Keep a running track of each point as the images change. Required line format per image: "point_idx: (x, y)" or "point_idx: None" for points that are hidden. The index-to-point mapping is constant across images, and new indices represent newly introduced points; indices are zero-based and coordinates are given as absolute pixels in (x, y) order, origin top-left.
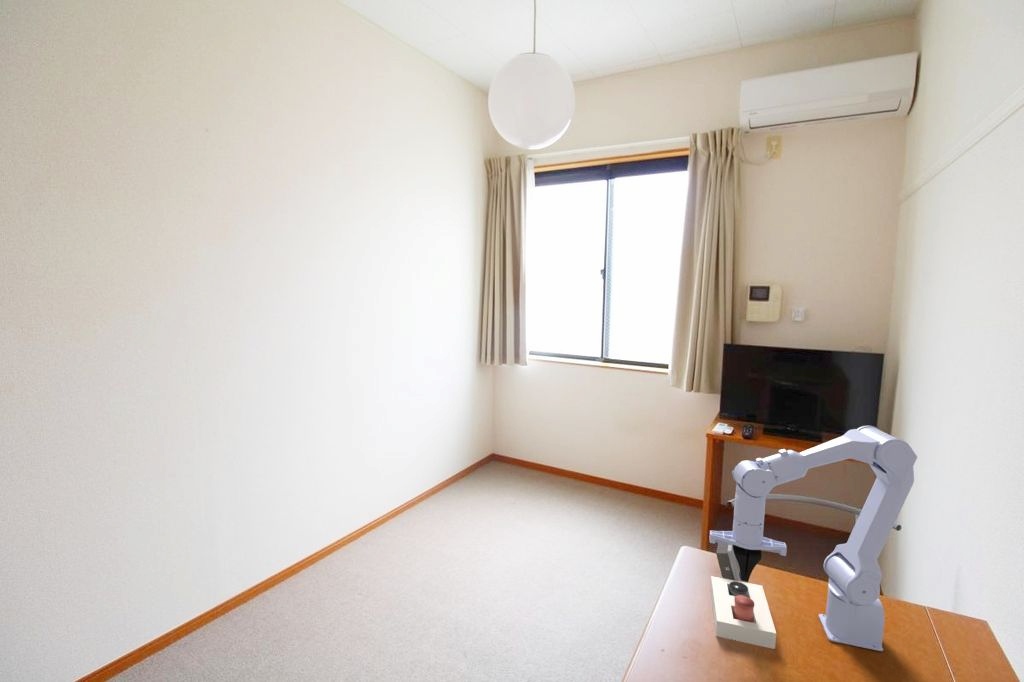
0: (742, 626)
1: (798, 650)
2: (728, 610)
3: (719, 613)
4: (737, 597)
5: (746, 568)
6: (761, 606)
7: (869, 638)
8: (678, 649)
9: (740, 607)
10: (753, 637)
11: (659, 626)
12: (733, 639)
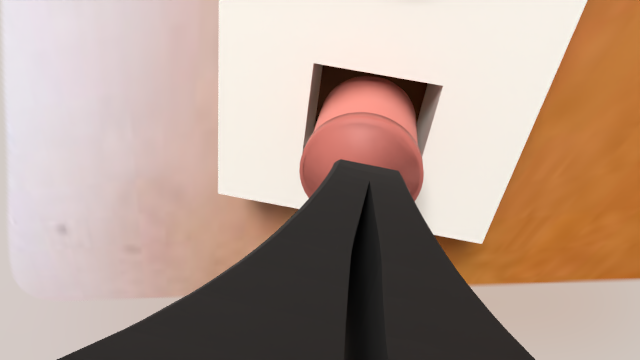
0: None
1: (577, 190)
2: (288, 111)
3: (235, 142)
4: (324, 146)
5: (347, 347)
6: (519, 42)
7: None
8: (109, 223)
9: None
10: None
11: (23, 125)
12: None
